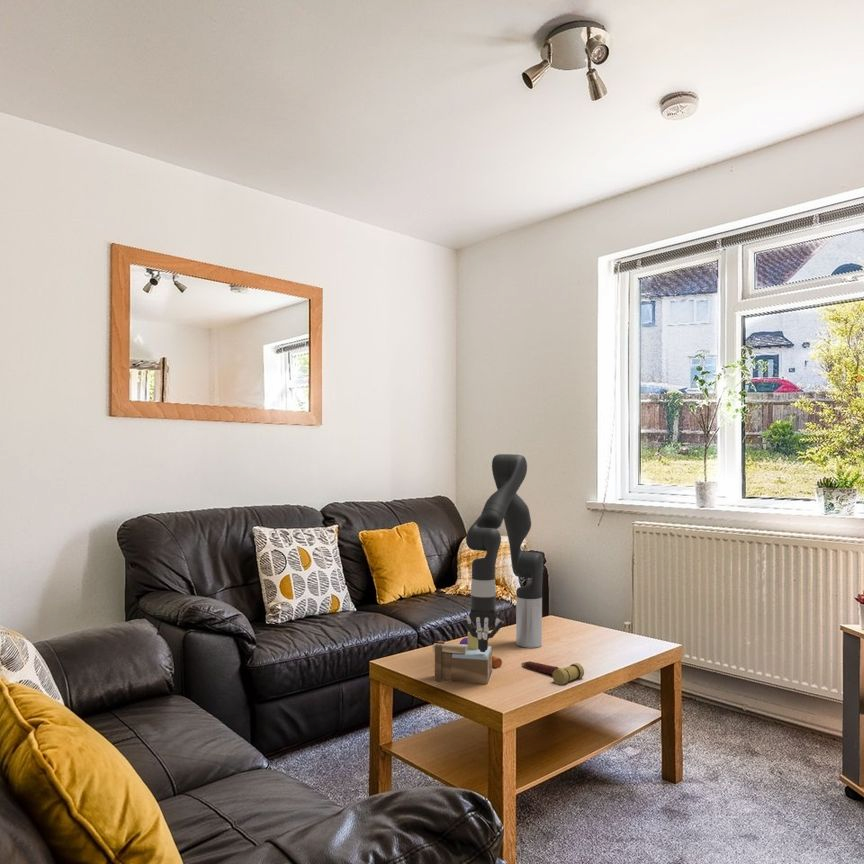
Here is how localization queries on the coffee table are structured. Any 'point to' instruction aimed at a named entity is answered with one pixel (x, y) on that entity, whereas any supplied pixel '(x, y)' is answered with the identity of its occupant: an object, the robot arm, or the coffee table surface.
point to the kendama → (495, 661)
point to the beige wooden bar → (452, 648)
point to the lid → (473, 650)
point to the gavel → (557, 671)
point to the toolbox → (461, 667)
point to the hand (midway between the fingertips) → (482, 651)
